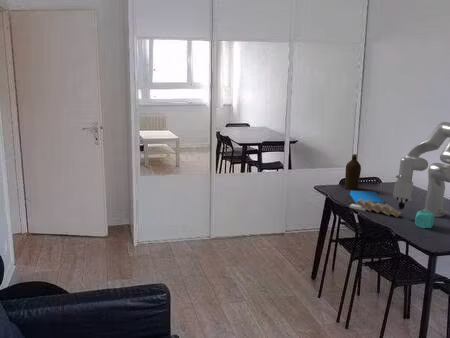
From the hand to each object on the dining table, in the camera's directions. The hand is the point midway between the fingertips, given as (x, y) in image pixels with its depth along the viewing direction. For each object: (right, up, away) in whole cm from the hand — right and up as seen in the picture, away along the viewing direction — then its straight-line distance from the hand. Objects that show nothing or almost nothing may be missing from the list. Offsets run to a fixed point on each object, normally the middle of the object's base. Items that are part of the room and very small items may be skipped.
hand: (401, 208), depth 276 cm
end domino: (-17, -1, +12) cm, 21 cm away
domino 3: (-5, -3, +4) cm, 7 cm away
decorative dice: (+8, -9, -14) cm, 18 cm away
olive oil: (-13, +9, +62) cm, 64 cm away
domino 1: (-14, -1, +10) cm, 17 cm away
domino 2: (-10, -2, +8) cm, 13 cm away
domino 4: (-1, -4, +1) cm, 4 cm away
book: (-11, +2, +31) cm, 33 cm away
